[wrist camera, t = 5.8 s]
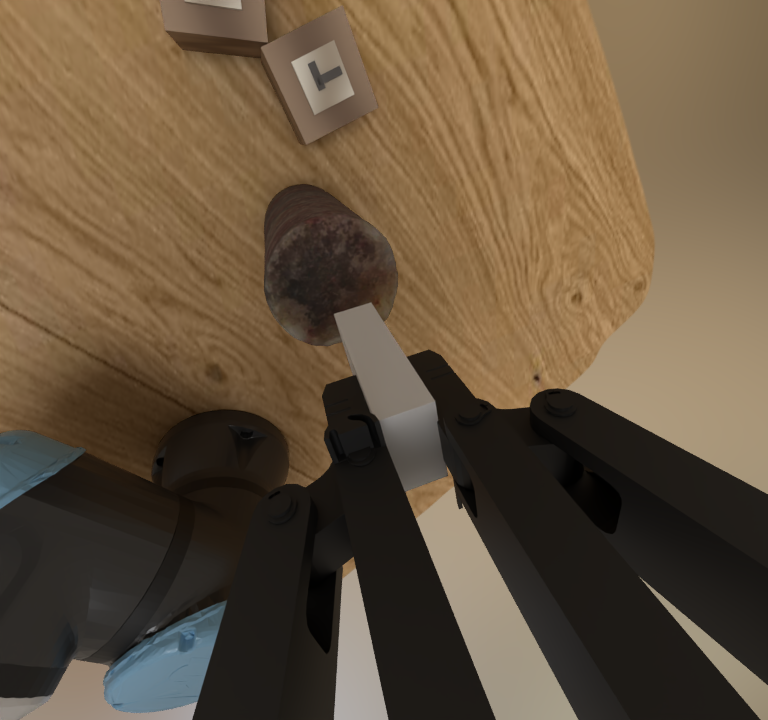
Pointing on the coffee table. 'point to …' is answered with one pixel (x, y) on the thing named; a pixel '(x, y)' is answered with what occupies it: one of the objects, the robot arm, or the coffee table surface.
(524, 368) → the coffee table surface
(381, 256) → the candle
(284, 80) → the block two
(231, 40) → the block seven
